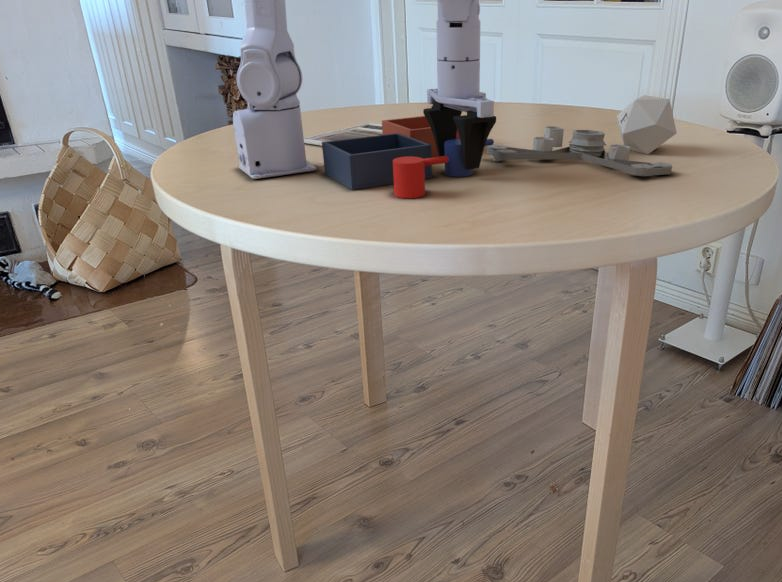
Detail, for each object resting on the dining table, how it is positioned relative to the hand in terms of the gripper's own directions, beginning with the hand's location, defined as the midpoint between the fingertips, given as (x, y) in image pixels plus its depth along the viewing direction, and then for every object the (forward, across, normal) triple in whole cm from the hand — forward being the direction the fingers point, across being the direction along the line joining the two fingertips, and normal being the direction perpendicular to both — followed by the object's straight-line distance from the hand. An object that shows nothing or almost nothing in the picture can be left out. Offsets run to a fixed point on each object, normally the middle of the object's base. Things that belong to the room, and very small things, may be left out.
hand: (458, 163), depth 94 cm
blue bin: (+1, +5, +10) cm, 12 cm away
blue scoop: (+1, 0, -2) cm, 2 cm away
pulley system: (+2, -4, -19) cm, 19 cm away
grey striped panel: (+1, +32, +2) cm, 32 cm away
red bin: (+1, +16, -4) cm, 17 cm away
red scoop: (+1, -6, +9) cm, 11 cm away
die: (+2, -3, -33) cm, 33 cm away
